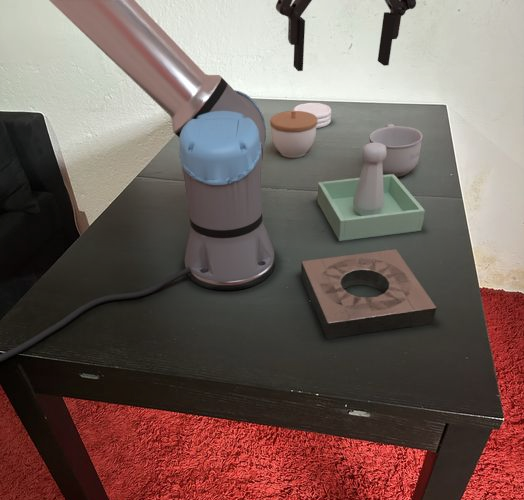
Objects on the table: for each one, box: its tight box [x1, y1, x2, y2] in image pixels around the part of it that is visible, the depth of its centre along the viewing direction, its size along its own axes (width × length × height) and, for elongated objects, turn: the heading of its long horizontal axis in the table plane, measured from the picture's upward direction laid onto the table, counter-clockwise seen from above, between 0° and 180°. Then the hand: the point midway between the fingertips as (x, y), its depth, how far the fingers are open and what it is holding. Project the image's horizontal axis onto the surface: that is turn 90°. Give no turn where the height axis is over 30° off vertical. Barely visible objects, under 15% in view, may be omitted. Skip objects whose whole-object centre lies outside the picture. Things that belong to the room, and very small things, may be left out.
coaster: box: [292, 102, 332, 129], centre depth 137 cm, size 10×10×4 cm
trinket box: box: [269, 110, 317, 159], centre depth 121 cm, size 11×11×9 cm
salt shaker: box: [353, 142, 387, 216], centre depth 96 cm, size 6×6×13 cm
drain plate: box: [300, 248, 437, 340], centre depth 81 cm, size 16×16×3 cm
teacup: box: [368, 123, 424, 178], centre depth 113 cm, size 14×11×8 cm
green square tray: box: [316, 174, 426, 242], centre depth 100 cm, size 16×16×4 cm
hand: (341, 66), depth 80 cm, fingers open, 13 cm apart
